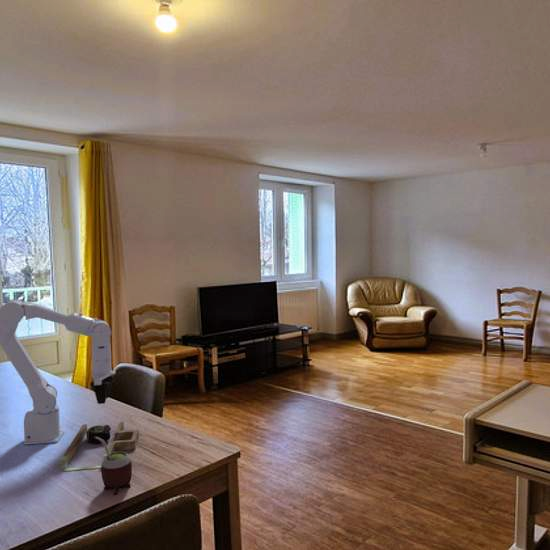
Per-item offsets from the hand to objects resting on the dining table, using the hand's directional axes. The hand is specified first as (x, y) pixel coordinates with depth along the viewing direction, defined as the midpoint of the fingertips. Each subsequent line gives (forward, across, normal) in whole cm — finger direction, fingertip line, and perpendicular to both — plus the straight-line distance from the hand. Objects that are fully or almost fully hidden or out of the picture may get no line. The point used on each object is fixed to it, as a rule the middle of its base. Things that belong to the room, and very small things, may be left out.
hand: (103, 400), depth 149 cm
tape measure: (+10, -8, -1) cm, 13 cm away
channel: (+9, -14, -3) cm, 17 cm away
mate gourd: (+10, -39, -10) cm, 41 cm away
